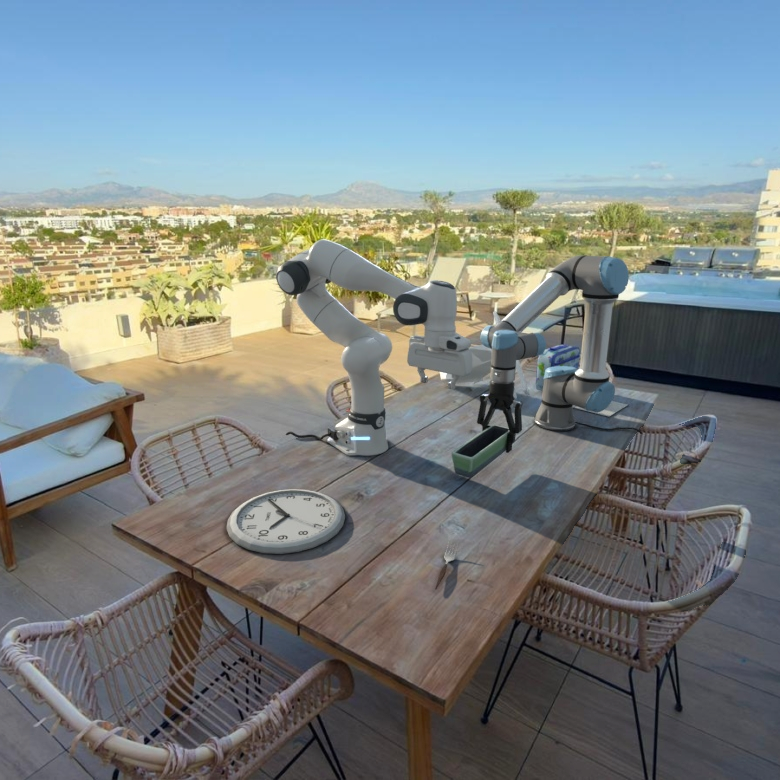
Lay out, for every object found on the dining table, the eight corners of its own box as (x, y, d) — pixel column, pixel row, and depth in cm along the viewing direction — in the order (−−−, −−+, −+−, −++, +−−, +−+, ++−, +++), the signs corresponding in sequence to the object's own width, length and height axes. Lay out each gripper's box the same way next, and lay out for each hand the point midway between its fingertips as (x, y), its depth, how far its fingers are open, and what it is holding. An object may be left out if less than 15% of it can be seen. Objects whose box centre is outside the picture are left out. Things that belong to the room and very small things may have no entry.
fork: (429, 589, 110) (429, 581, 109) (447, 548, 124) (448, 541, 124) (441, 592, 109) (441, 584, 108) (458, 550, 123) (459, 543, 123)
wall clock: (345, 545, 122) (213, 550, 119) (345, 551, 122) (214, 556, 120) (344, 484, 150) (238, 487, 148) (345, 490, 151) (239, 492, 148)
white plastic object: (461, 429, 252) (437, 405, 227) (444, 352, 274) (420, 323, 250) (535, 404, 240) (518, 377, 215) (510, 326, 262) (492, 293, 237)
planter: (491, 443, 174) (493, 423, 172) (511, 449, 170) (513, 429, 168) (449, 474, 153) (450, 452, 151) (471, 481, 149) (472, 458, 147)
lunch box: (552, 397, 237) (557, 352, 231) (531, 392, 245) (535, 348, 238) (579, 386, 255) (584, 344, 249) (558, 381, 262) (563, 340, 256)
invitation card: (608, 416, 214) (573, 407, 224) (608, 416, 214) (573, 408, 224) (628, 404, 229) (594, 396, 238) (628, 405, 229) (594, 397, 238)
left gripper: (403, 335, 153) (402, 381, 157) (465, 345, 141) (462, 394, 145) (415, 332, 157) (414, 376, 162) (476, 342, 146) (473, 389, 150)
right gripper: (467, 377, 165) (464, 444, 172) (528, 389, 154) (522, 460, 161) (478, 372, 171) (475, 437, 178) (537, 383, 160) (531, 452, 167)
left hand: (437, 385), depth 153 cm, fingers open, 8 cm apart
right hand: (497, 448), depth 169 cm, fingers closed on planter, 7 cm apart
